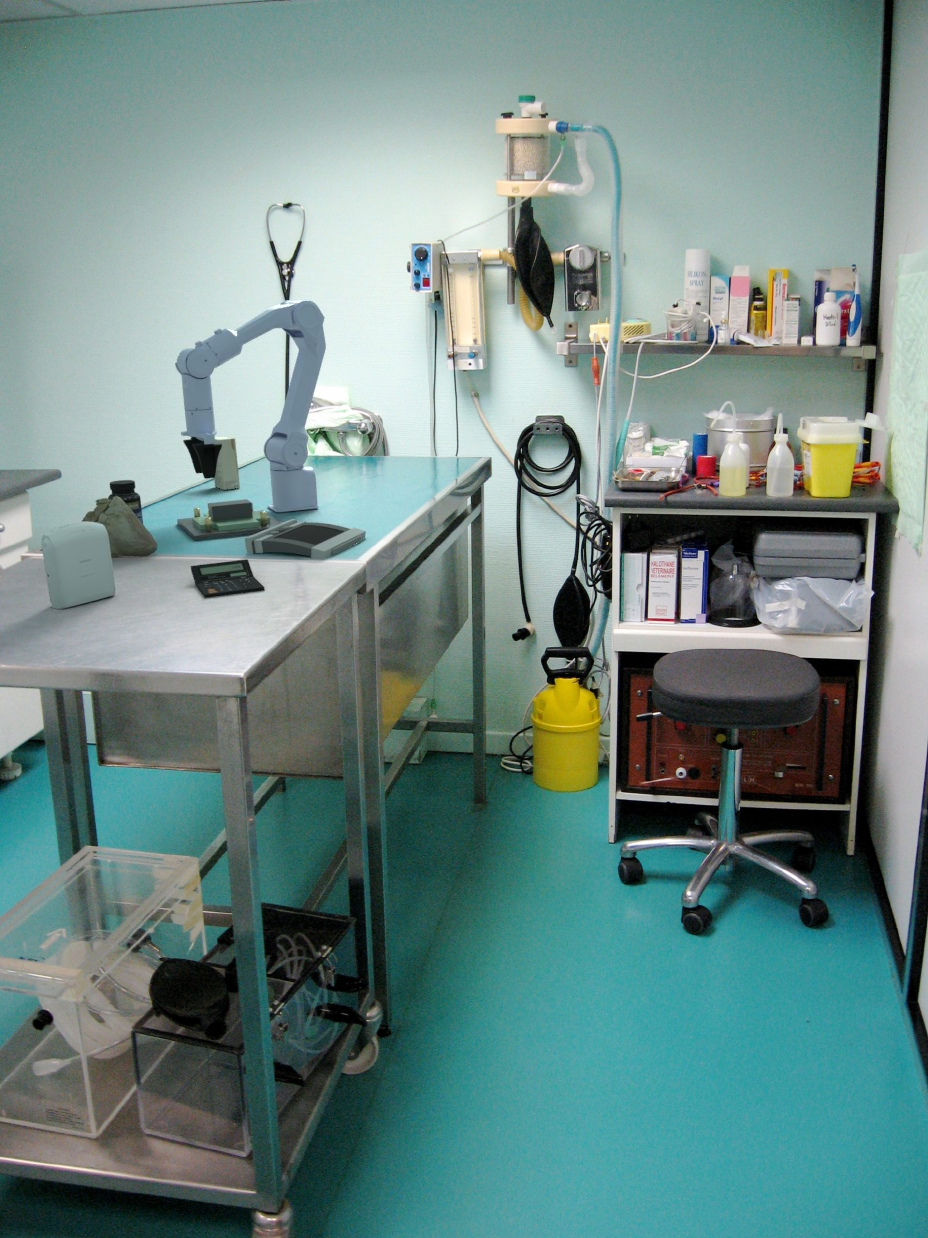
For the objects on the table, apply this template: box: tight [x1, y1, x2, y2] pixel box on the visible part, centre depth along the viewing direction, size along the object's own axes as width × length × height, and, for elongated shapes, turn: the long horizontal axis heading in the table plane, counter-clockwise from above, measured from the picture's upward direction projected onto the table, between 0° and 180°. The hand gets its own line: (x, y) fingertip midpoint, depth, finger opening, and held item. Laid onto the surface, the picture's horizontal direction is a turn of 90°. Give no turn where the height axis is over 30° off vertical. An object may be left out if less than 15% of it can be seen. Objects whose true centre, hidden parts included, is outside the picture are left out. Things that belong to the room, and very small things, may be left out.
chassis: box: [177, 502, 282, 542], centre depth 214 cm, size 18×18×4 cm
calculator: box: [190, 558, 266, 599], centre depth 171 cm, size 9×12×3 cm
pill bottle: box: [107, 479, 144, 525], centre depth 206 cm, size 6×6×11 cm
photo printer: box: [41, 521, 117, 610], centre depth 163 cm, size 10×4×12 cm, turn 140°
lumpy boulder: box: [80, 496, 158, 558], centre depth 194 cm, size 11×11×15 cm
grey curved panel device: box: [244, 518, 367, 560], centre depth 197 cm, size 17×5×16 cm
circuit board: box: [191, 499, 270, 531], centre depth 214 cm, size 14×14×4 cm
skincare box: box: [213, 436, 241, 491], centre depth 258 cm, size 6×4×12 cm
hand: (205, 475), depth 220 cm, fingers open, 7 cm apart
